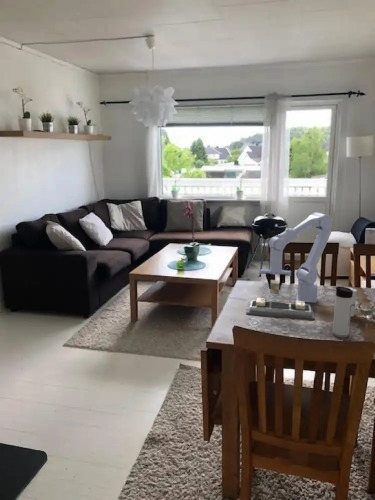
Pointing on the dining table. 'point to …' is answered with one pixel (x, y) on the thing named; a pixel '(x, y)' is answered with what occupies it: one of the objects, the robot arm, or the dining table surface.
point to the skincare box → (353, 301)
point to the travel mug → (342, 312)
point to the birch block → (274, 287)
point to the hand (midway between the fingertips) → (274, 288)
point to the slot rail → (280, 309)
